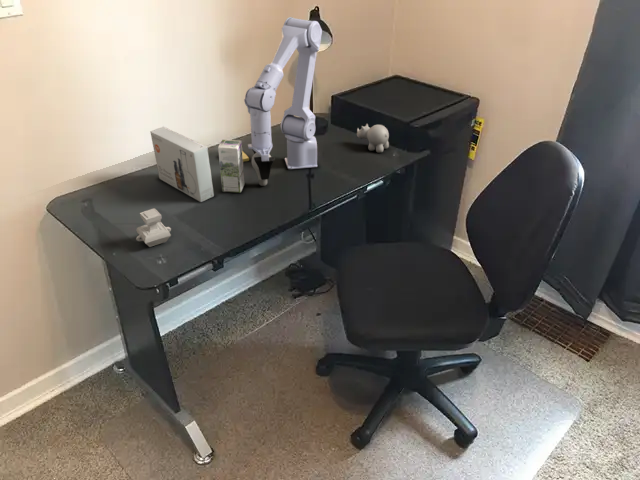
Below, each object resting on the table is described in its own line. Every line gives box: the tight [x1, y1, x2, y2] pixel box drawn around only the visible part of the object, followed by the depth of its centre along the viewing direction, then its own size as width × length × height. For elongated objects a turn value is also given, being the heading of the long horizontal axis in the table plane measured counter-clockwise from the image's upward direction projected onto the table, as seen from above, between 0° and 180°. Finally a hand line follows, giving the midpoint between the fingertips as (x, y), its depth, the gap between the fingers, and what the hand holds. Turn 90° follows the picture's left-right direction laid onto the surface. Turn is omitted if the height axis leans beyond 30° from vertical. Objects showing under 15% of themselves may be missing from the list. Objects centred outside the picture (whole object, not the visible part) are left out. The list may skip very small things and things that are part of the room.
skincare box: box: [149, 126, 215, 203], centre depth 164 cm, size 21×5×16 cm, turn 47°
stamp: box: [135, 207, 172, 248], centre depth 141 cm, size 9×7×8 cm
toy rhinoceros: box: [356, 123, 390, 154], centre depth 192 cm, size 7×12×8 cm, turn 52°
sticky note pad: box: [242, 150, 250, 163], centre depth 185 cm, size 8×8×1 cm
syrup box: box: [217, 139, 246, 194], centre depth 164 cm, size 6×6×14 cm
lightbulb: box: [251, 153, 272, 187], centre depth 167 cm, size 6×6×11 cm
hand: (263, 173), depth 168 cm, fingers open, 7 cm apart
